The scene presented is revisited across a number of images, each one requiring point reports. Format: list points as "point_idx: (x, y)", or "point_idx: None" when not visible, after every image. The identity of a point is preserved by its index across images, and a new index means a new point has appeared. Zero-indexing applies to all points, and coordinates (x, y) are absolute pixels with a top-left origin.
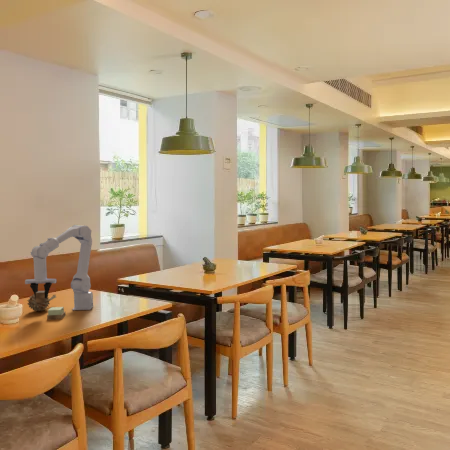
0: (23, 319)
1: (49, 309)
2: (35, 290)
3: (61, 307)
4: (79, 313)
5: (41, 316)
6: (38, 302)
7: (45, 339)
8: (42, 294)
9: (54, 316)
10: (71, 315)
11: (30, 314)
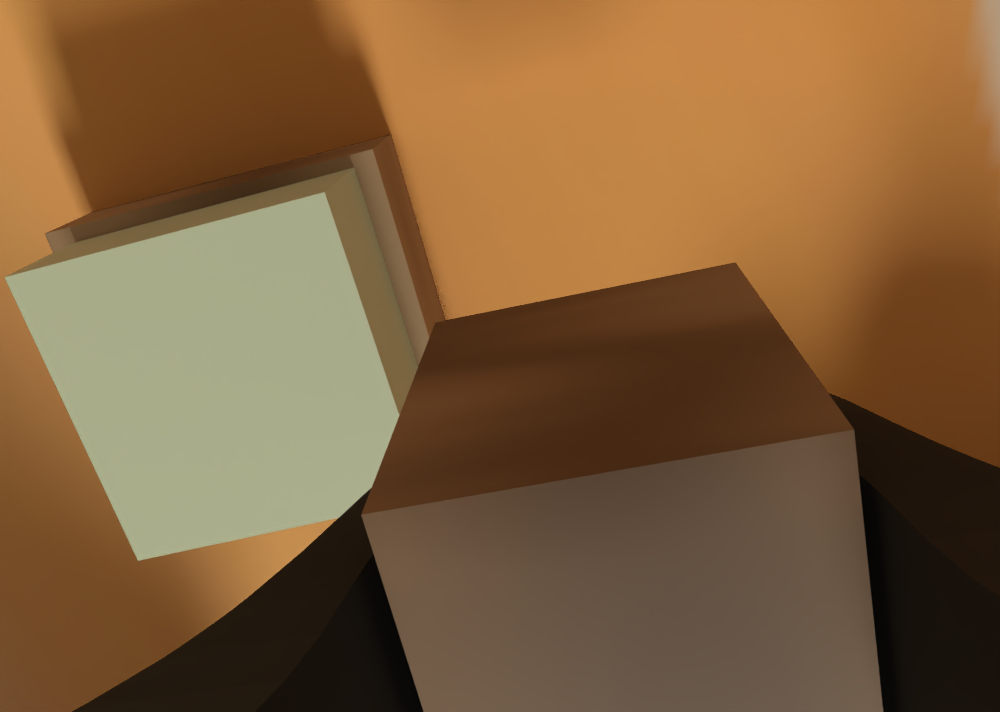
0: (979, 88)
1: (340, 290)
2: (926, 539)
3: (147, 500)
4: (45, 635)
5: None
6: (647, 281)
7: None
8: (459, 443)
9: (214, 187)
10: (96, 499)
11: None
